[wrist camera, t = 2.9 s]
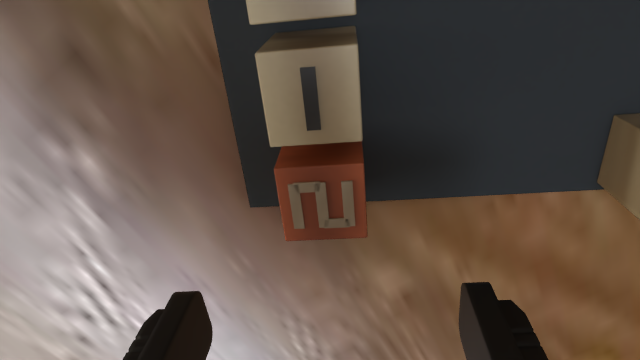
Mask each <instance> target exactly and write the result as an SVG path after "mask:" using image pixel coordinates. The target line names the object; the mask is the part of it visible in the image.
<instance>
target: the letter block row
mask: <svg viewBox="0 0 640 360" xmlns="http://www.w3.org/2000/svg"><path fill="white" fill-rule="evenodd" d="M597 183H598V184H599V185H601V186H602V187H603V188H604V189H605V190H606V191H607V192H609V193H610V194H611V195H612V196H613V197H614V198H615V199H617V200H618V201H619V202H620V203H621V204H622V205H623V206H624V207H626V208H627V209H628V210H629V211H630V212H631V213H632V214H634V215H635V216H636V217H637V218H638V219H639V220H640V113H637V114H622V115H614V117H613V121H612V125H611V129H610V133H609V137H608V141H607V145H606V149H605V152H604V156H603V160H602V164H601V168H600V172H599V176H598V180H597Z"/></svg>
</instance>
